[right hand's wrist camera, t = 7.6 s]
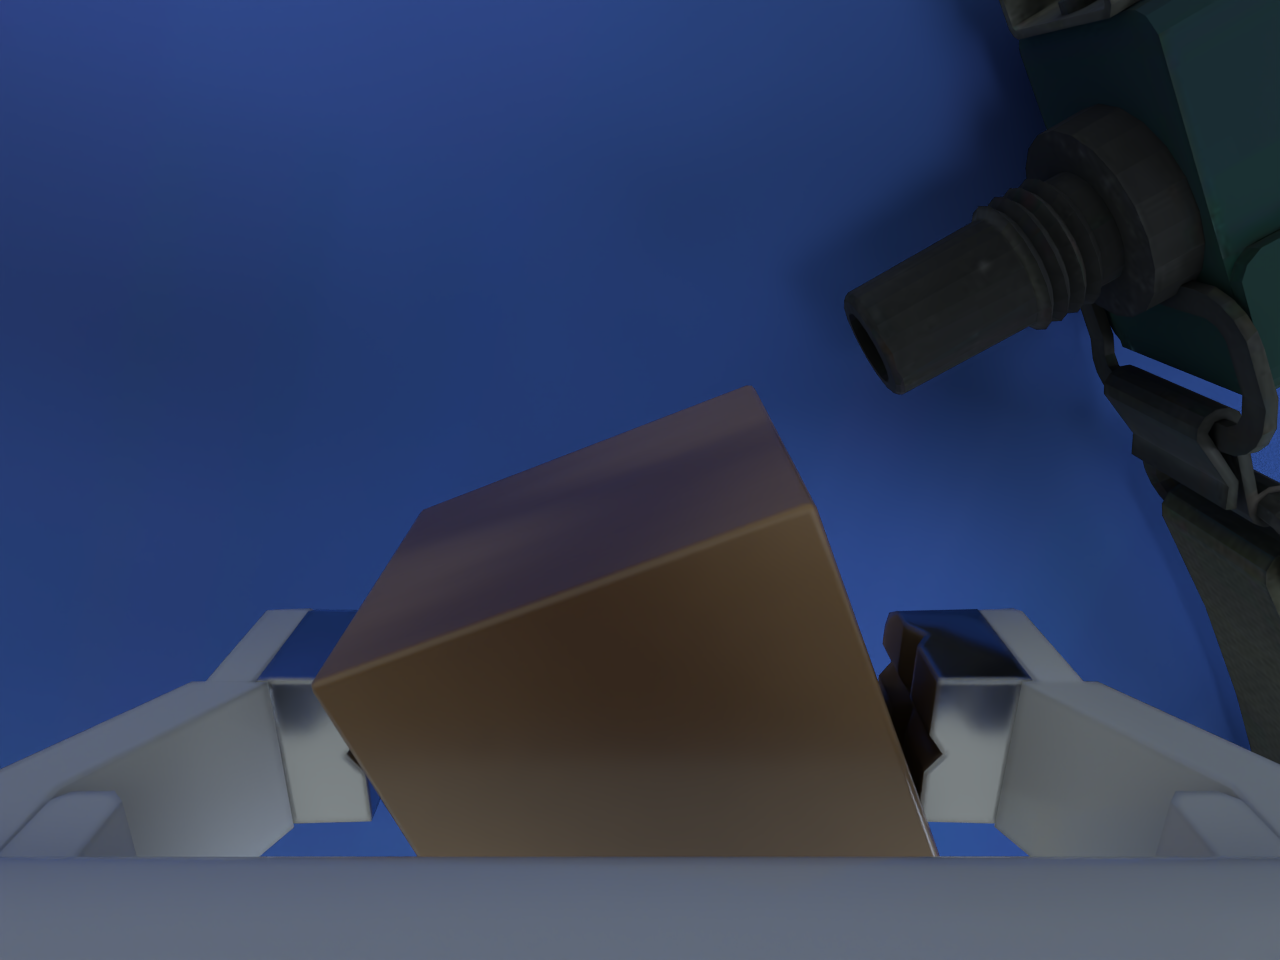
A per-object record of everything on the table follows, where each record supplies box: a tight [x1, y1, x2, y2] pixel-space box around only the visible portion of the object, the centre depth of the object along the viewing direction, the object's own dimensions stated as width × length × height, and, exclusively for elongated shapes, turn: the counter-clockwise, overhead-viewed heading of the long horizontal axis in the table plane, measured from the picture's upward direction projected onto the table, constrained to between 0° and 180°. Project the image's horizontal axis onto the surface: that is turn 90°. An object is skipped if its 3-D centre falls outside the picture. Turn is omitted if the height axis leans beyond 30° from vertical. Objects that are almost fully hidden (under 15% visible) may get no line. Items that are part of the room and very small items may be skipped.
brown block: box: [312, 386, 940, 857], centre depth 10 cm, size 5×4×4 cm
